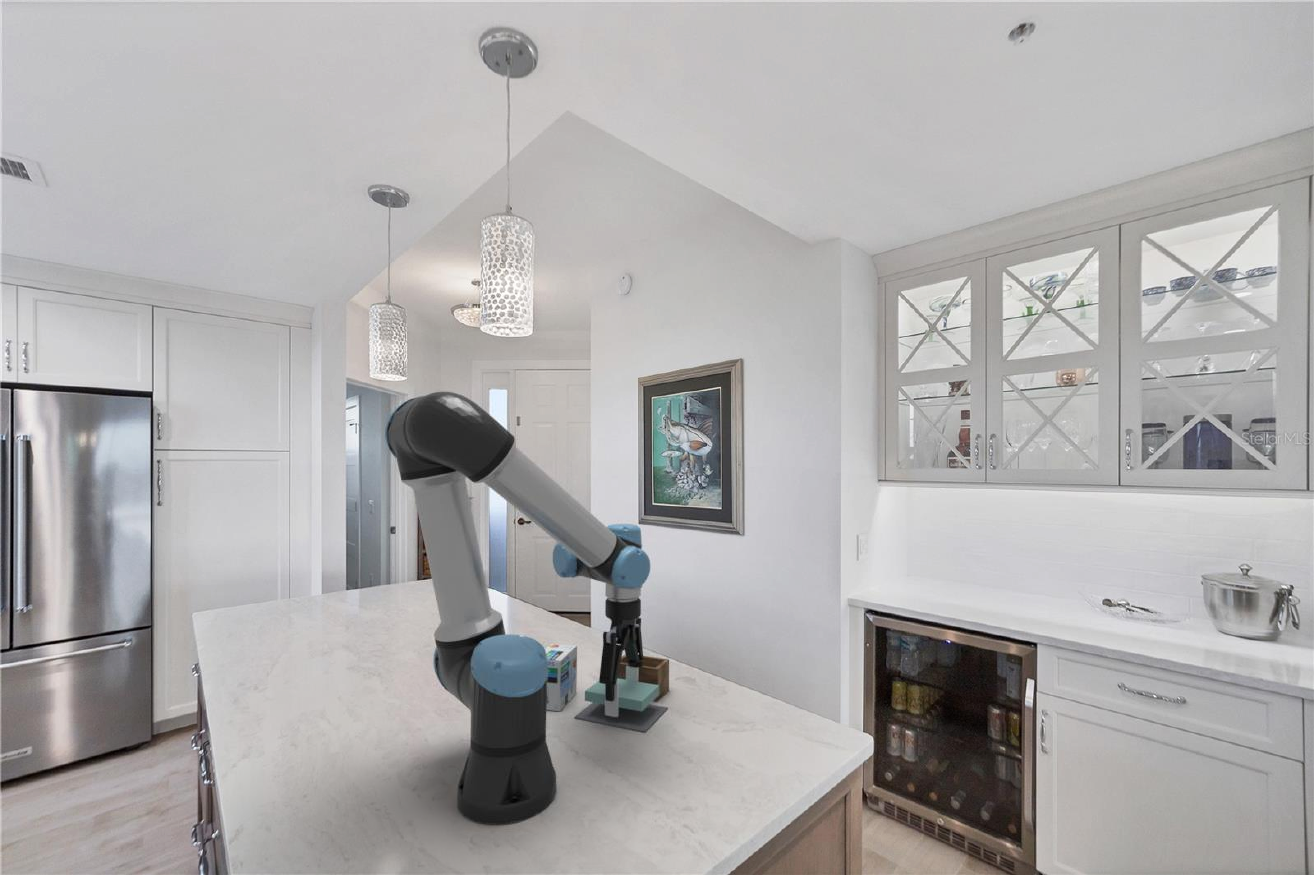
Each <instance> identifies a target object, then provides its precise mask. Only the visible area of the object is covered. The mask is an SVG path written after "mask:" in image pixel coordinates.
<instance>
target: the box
mask: <svg viewBox="0 0 1314 875" xmlns="http://www.w3.org/2000/svg"><path fill="white" fill-rule="evenodd" d="M640 662H643V666H642V667H639V666H638V668H639V677H638V682H642V683H648V684H654V685H659V696H657V697H656V698H655V699H654V700H653V701H652V702H656V703H657V702H659V701H660V700H661V699H662V698H663V697H664V696H665V695H666V694H667V693H668V692H669V691H670V659H667V658H660V657H655V656H654V657H653V656H648V655H643V661H640ZM627 666H630V665H628V662H627V658H626V654H622V657H621V662H620V667H619V672H618V677H617V678H618V679H624V680H626V667H627Z"/></svg>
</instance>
